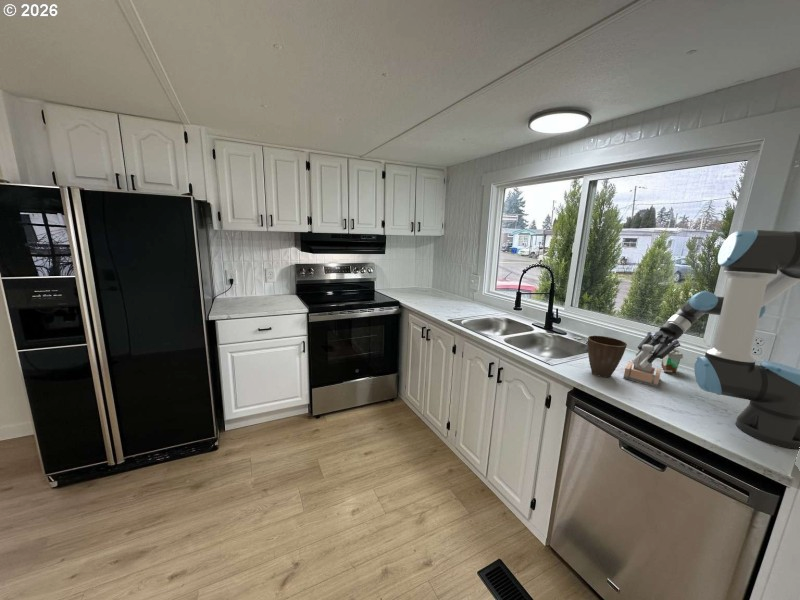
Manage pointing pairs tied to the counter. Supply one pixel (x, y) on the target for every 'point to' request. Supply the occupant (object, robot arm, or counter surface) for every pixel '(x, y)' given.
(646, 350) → the salt shaker
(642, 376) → the socket board
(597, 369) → the plant pot
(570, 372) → the counter surface
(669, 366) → the food container
